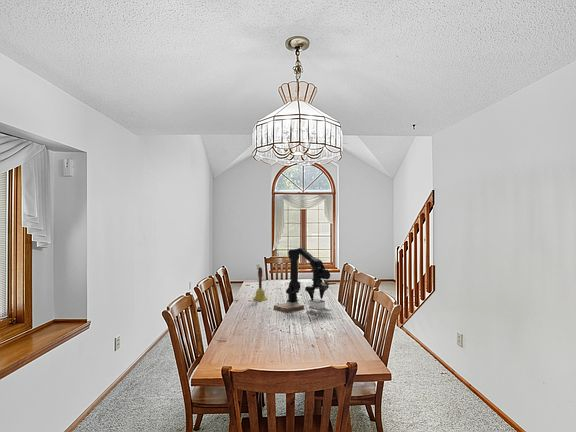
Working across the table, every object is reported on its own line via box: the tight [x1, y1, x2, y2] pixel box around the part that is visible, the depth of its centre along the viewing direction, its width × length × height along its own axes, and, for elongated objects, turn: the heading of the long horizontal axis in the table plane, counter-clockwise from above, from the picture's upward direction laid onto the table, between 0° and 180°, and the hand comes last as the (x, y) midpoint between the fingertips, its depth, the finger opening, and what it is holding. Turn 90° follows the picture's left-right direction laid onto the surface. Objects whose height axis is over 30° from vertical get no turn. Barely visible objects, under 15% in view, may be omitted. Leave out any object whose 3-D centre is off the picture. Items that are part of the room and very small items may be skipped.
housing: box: [308, 298, 326, 310], centre depth 280 cm, size 10×6×5 cm, turn 37°
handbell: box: [252, 266, 269, 302], centre depth 307 cm, size 12×12×25 cm
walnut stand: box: [273, 301, 305, 313], centre depth 274 cm, size 14×16×2 cm
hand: (317, 299), depth 280 cm, fingers open, 9 cm apart
